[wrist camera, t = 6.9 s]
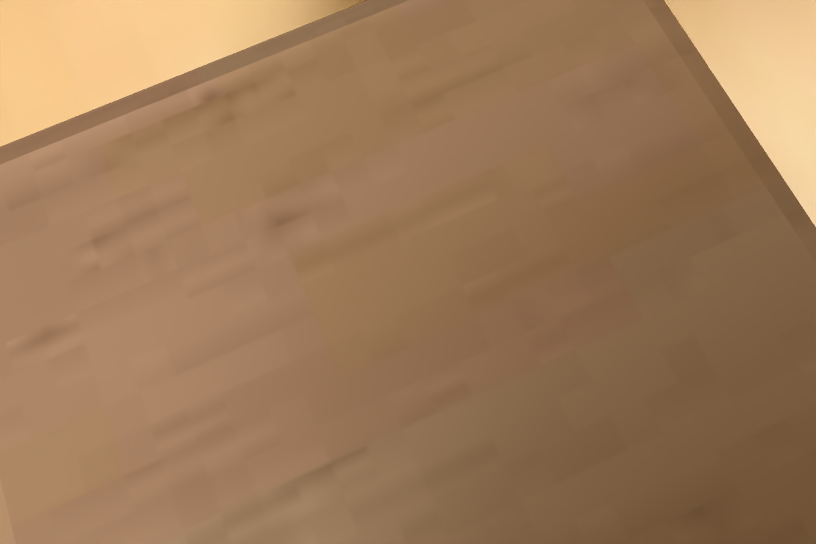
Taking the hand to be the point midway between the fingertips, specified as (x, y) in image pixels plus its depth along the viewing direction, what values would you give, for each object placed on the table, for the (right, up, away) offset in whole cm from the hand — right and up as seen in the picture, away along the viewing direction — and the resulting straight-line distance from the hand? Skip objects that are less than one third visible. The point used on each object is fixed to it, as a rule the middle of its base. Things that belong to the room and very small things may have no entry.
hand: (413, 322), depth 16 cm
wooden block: (+1, -4, +9) cm, 10 cm away
